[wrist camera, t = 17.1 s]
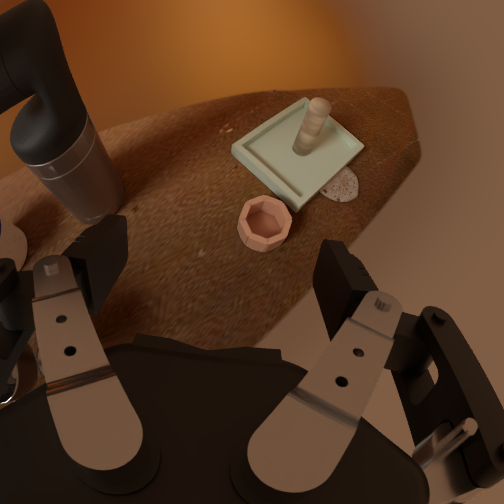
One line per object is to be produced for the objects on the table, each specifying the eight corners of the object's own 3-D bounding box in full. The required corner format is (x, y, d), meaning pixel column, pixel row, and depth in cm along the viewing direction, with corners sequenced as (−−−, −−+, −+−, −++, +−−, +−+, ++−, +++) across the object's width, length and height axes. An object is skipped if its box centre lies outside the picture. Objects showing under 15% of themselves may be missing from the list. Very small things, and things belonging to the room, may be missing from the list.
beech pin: (289, 144, 47) (306, 99, 36) (304, 140, 47) (324, 96, 37) (297, 158, 46) (318, 114, 36) (313, 153, 47) (335, 111, 36)
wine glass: (26, 356, 33) (-38, 356, 19) (54, 323, 35) (-9, 313, 21) (57, 398, 32) (-3, 416, 18) (86, 366, 35) (28, 375, 20)
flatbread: (306, 188, 46) (308, 185, 45) (322, 155, 48) (323, 151, 47) (351, 212, 46) (353, 210, 45) (363, 177, 48) (365, 175, 47)
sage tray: (296, 213, 44) (300, 206, 42) (231, 153, 46) (232, 144, 44) (359, 153, 49) (364, 145, 47) (301, 105, 51) (304, 96, 49)
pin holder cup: (231, 218, 43) (232, 206, 39) (271, 202, 44) (276, 190, 41) (250, 259, 42) (254, 251, 38) (292, 241, 43) (299, 232, 39)
